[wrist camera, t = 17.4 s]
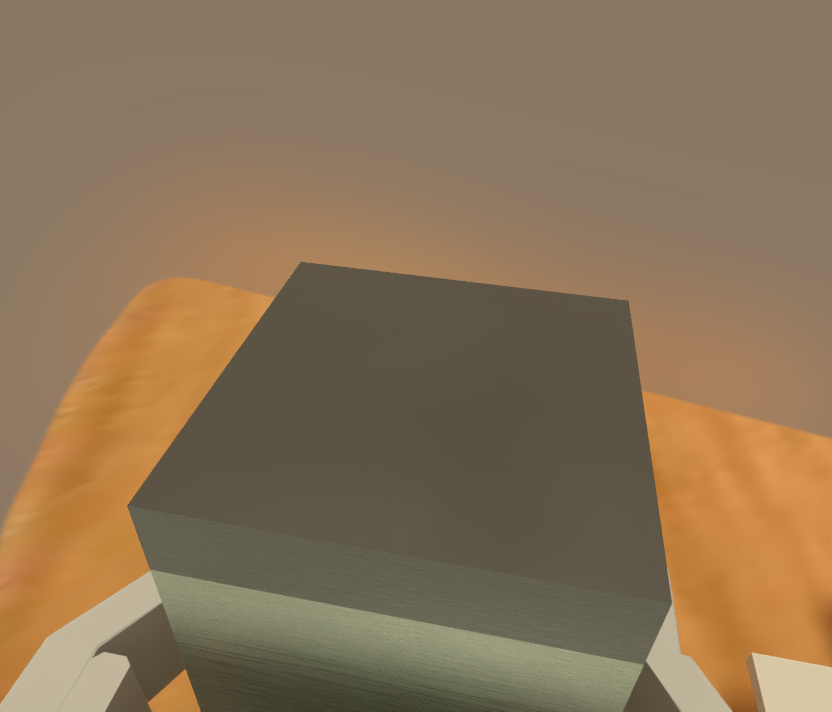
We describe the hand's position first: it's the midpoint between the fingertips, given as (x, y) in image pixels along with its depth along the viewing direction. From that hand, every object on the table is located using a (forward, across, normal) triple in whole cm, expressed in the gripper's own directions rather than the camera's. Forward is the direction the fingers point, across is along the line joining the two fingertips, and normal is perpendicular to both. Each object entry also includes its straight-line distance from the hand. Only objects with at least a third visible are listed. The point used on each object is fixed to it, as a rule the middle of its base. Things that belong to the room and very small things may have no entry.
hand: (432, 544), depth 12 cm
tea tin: (-1, 0, +7) cm, 7 cm away
